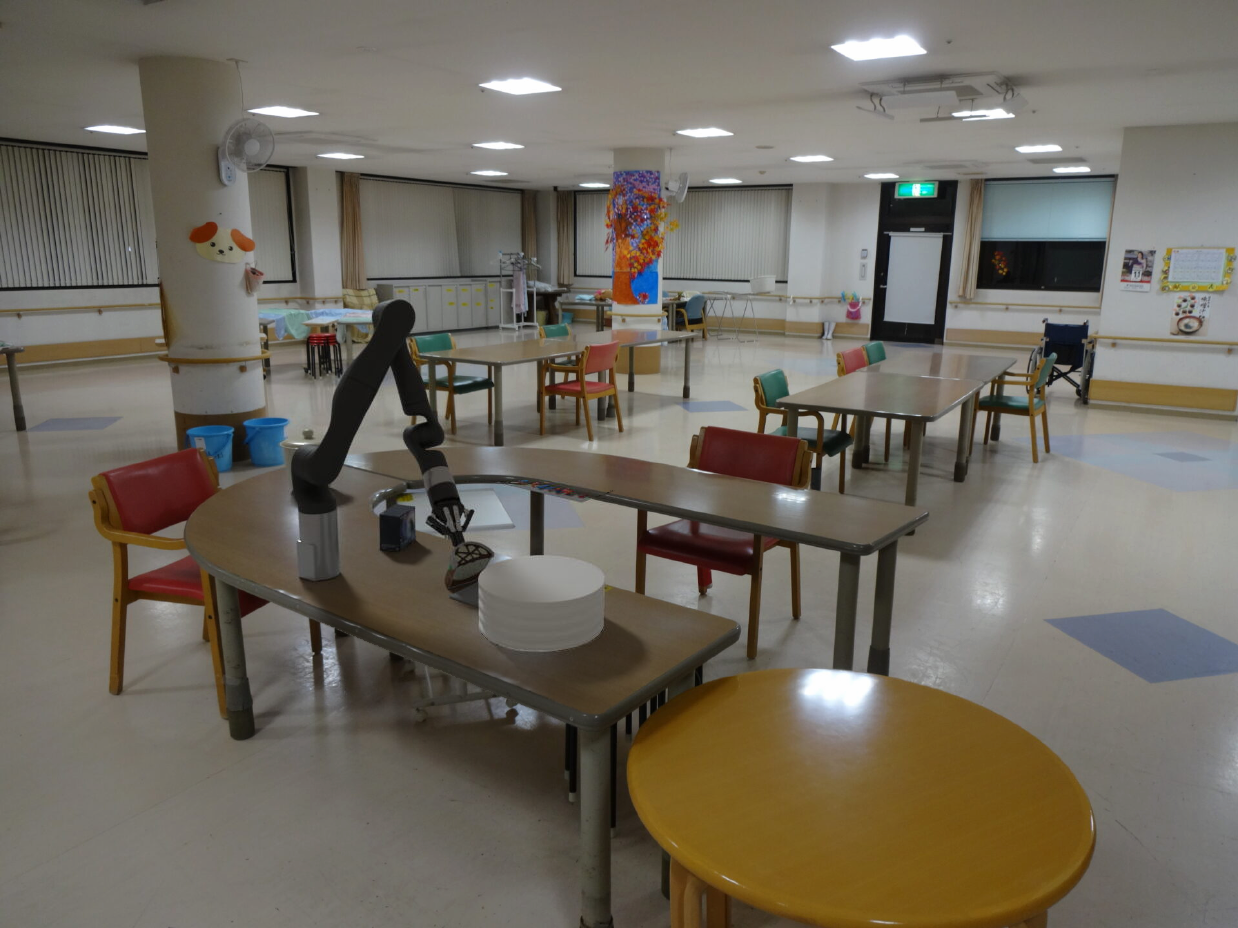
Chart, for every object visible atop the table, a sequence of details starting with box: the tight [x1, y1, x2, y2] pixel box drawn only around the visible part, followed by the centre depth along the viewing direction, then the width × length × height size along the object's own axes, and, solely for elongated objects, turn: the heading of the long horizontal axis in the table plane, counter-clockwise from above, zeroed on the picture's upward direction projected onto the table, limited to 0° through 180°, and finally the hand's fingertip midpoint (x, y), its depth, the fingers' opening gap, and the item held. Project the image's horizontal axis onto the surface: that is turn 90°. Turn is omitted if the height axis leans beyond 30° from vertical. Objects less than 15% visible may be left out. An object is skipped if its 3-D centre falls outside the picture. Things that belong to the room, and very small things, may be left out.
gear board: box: [496, 480, 594, 503], centre depth 306 cm, size 45×2×19 cm
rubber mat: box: [449, 581, 479, 608], centre depth 211 cm, size 18×10×1 cm, turn 149°
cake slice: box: [444, 540, 495, 590], centre depth 213 cm, size 12×6×10 cm
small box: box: [378, 503, 417, 553], centre depth 239 cm, size 11×6×10 cm, turn 168°
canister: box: [279, 428, 333, 491], centre depth 288 cm, size 18×18×21 cm
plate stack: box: [477, 554, 606, 650], centre depth 192 cm, size 28×28×12 cm
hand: (460, 546), depth 213 cm, fingers closed
